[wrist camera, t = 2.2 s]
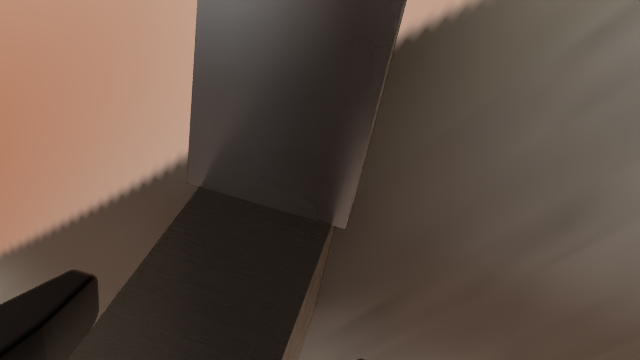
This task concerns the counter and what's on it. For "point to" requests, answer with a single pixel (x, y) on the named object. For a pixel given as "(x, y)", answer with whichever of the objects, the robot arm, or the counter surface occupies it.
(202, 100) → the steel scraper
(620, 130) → the counter surface
